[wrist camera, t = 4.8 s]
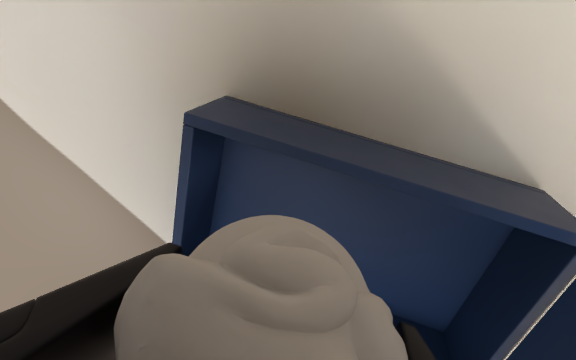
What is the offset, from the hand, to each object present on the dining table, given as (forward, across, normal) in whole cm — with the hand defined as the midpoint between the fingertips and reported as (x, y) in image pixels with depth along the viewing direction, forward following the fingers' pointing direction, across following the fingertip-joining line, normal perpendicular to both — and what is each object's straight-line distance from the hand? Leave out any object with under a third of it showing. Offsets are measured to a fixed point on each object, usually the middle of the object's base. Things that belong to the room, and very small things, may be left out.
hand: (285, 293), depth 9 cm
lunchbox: (+12, -2, +4) cm, 13 cm away
